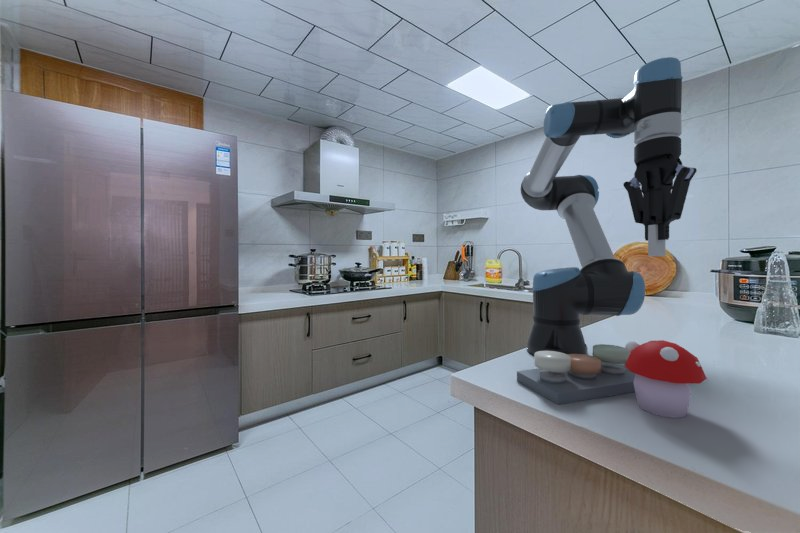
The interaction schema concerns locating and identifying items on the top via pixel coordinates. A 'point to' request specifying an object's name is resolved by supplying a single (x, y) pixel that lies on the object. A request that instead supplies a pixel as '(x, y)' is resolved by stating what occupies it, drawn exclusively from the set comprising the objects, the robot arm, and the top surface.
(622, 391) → the button board
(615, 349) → the sage cap
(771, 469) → the top surface
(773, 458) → the top surface
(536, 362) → the white flat dome
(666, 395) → the mushroom
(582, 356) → the terracotta cap
